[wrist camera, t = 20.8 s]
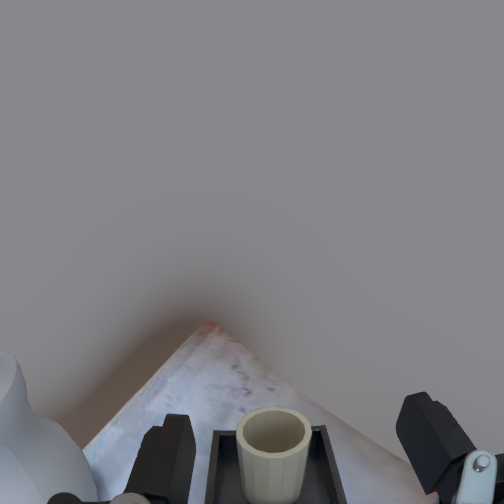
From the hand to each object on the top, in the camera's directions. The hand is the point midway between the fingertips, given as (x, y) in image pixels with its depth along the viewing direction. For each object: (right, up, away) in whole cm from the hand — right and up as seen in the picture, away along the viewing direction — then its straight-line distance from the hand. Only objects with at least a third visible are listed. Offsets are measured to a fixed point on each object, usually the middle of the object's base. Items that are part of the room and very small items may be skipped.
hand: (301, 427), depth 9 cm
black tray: (+1, -20, +16) cm, 26 cm away
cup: (+1, -20, +16) cm, 26 cm away
